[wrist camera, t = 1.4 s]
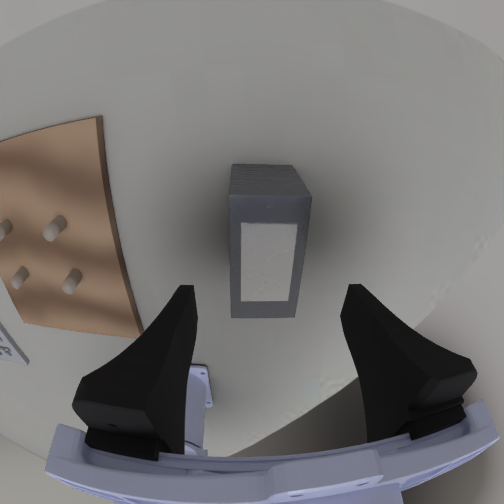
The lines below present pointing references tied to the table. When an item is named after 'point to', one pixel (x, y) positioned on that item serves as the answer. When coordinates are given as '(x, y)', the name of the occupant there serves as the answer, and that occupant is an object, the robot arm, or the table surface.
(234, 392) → the table surface
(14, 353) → the office telephone
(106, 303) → the pin tray
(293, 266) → the block
